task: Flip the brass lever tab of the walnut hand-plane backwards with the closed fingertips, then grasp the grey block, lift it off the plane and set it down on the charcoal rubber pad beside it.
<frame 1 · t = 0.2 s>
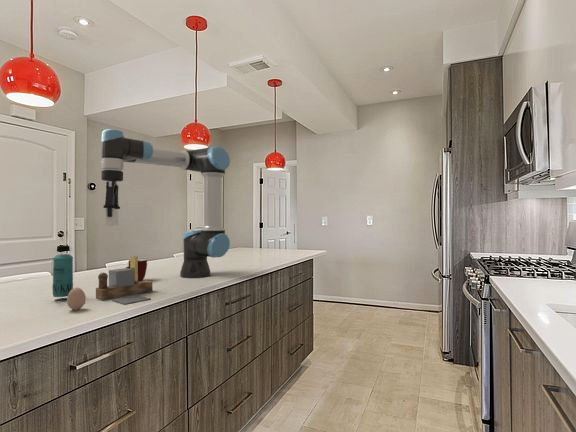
hand: (112, 225, 138), 27 cm above the worktop, fingers open, 13 cm apart
plane body: (125, 294, 140), on the worktop
lever: (134, 269, 143), point 9 cm above the worktop, hinge at 0.0°
pad: (131, 300, 131), on the worktop
egg: (76, 310, 118), on the worktop
mug: (135, 282, 168), on the worktop
grey block: (121, 285, 139), point 4 cm above the worktop, touching plane body
beverage bottle: (63, 299, 133), on the worktop
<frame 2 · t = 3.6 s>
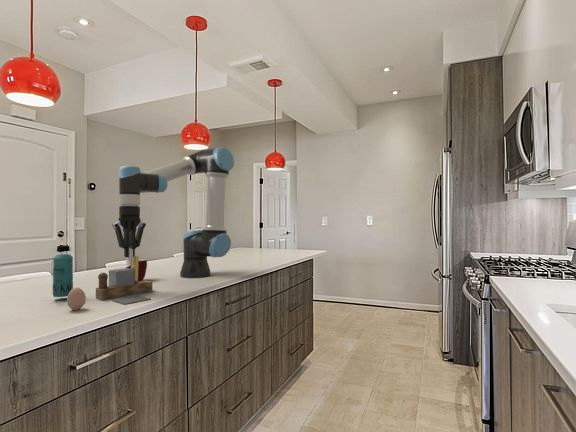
hand: (129, 265, 141), 11 cm above the worktop, fingers closed
lever: (134, 269, 143), point 9 cm above the worktop, hinge at 2.4°, touching gripper
everything else where it was.
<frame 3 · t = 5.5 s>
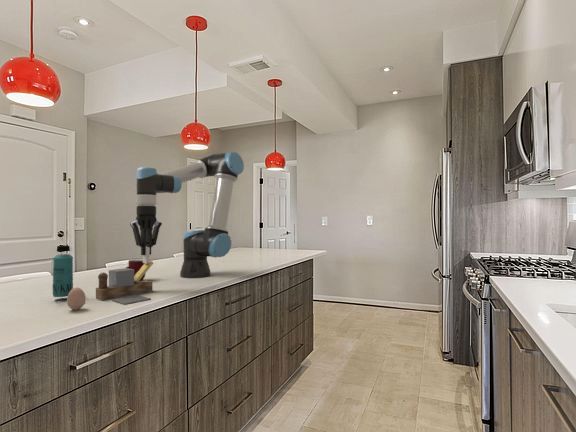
hand: (146, 263, 147), 12 cm above the worktop, fingers closed
lever: (141, 272, 145), point 8 cm above the worktop, hinge at 45.0°, touching gripper
everything else where it was.
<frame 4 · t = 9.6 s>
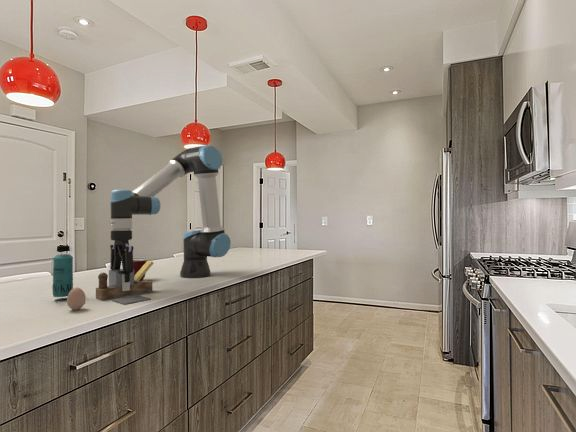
hand: (121, 289, 139), 2 cm above the worktop, fingers closed on grey block, 6 cm apart
lever: (141, 272, 145), point 8 cm above the worktop, hinge at 45.6°
grey block: (121, 285, 139), point 4 cm above the worktop, touching gripper, plane body
everything else where it was.
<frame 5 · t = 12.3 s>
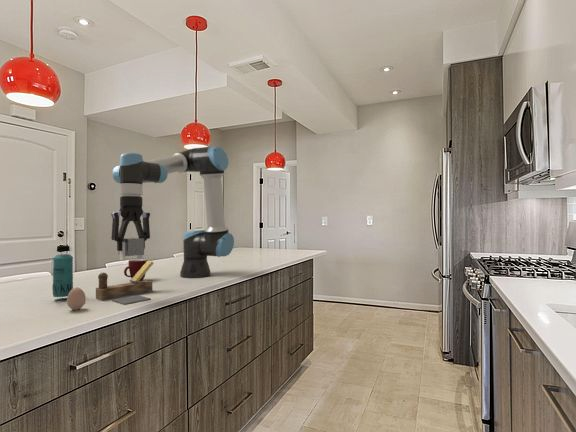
hand: (131, 259, 131), 15 cm above the worktop, fingers closed on grey block, 6 cm apart
grey block: (131, 254, 131), point 17 cm above the worktop, touching gripper
everything else where it was.
when the fingers open (1 cm above the worktop, at t = 15.0 s): grey block drops 2 cm, resting on pad.
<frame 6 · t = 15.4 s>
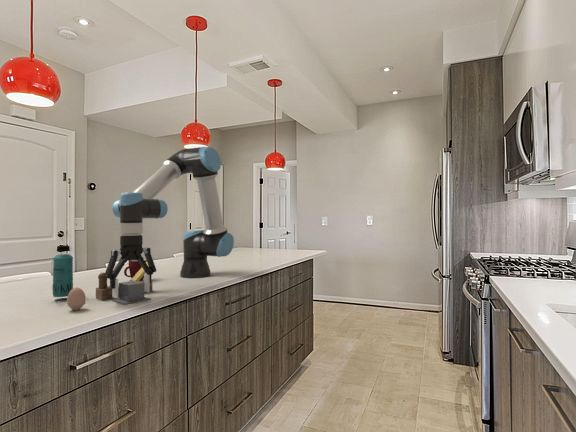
hand: (131, 294, 131), 2 cm above the worktop, fingers open, 11 cm apart
grey block: (131, 299, 131), resting on pad
everything else where it was.
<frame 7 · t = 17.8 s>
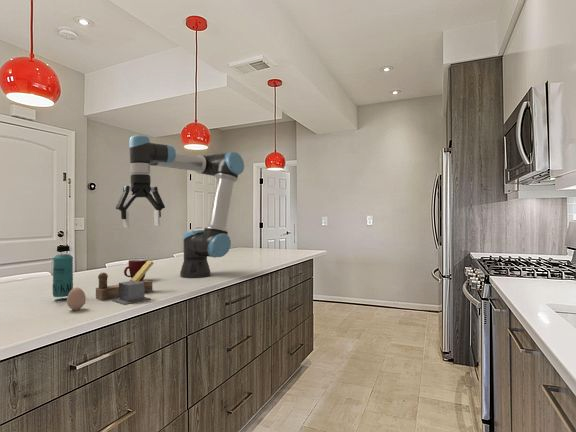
hand: (142, 226, 147), 26 cm above the worktop, fingers open, 13 cm apart
nothing on the worktop moved.
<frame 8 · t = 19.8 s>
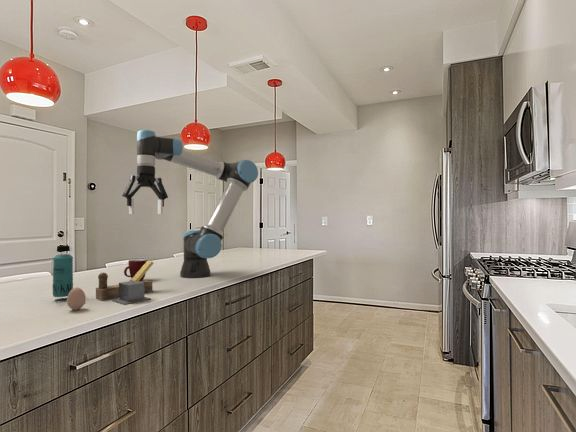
hand: (146, 214, 158), 32 cm above the worktop, fingers open, 13 cm apart
nothing on the worktop moved.
at the end: lever at +46° (first picture: +0°); grey block inside the target area on the pad (0.1 cm from its centre), point 0.4 cm above the pad's base; grey block touching pad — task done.
